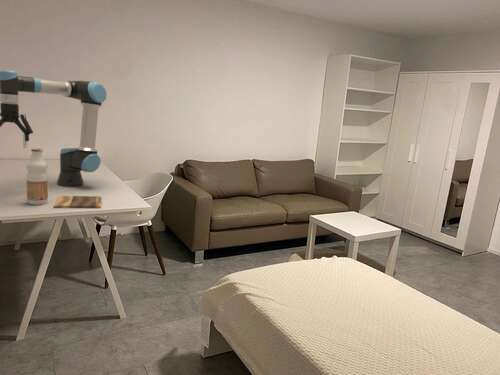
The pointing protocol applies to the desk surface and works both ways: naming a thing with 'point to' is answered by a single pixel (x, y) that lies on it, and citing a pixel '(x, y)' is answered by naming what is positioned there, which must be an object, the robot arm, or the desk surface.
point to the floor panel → (78, 202)
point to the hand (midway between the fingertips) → (11, 146)
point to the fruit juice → (37, 178)
